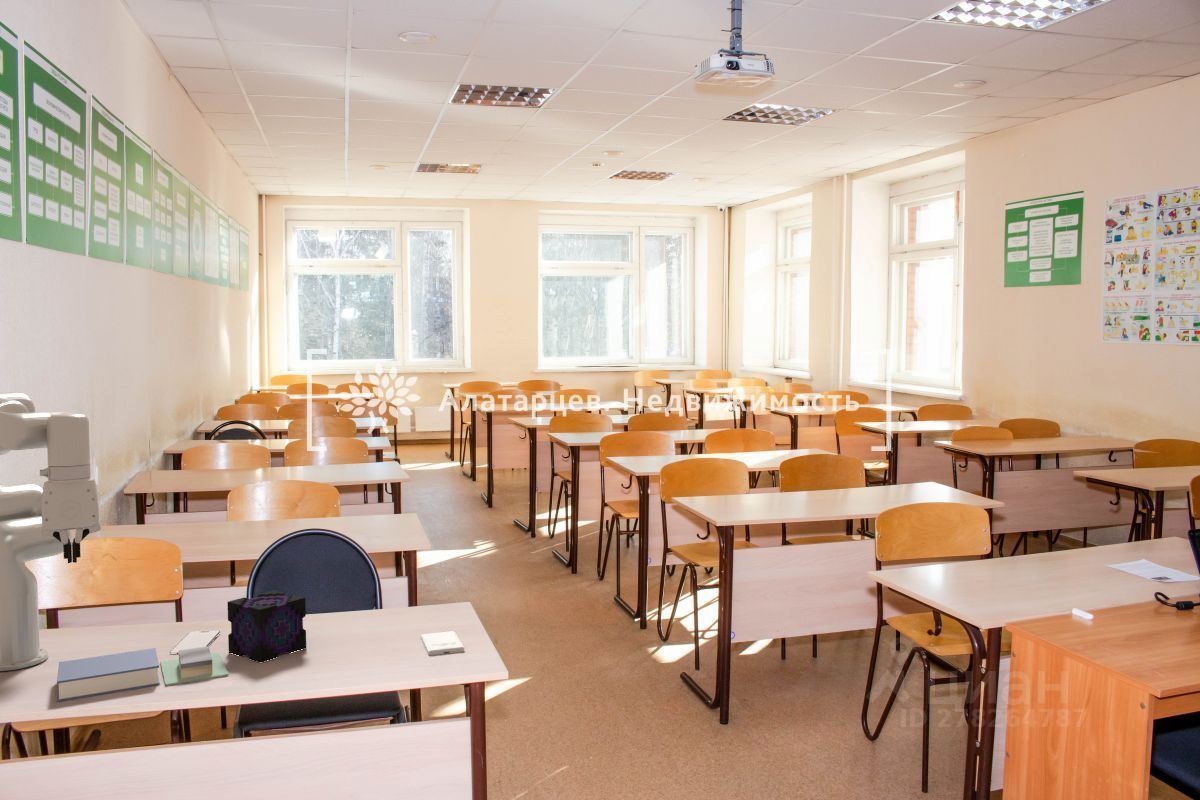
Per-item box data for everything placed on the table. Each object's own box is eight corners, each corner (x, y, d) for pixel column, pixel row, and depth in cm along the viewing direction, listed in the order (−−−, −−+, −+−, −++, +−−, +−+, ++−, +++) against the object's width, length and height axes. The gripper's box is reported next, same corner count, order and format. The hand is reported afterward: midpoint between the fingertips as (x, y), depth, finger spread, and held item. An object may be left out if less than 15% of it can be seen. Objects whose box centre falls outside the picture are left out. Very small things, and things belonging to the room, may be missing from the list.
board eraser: (208, 646, 198) (208, 659, 198) (178, 650, 195) (179, 664, 196) (212, 659, 189) (212, 673, 189) (180, 664, 187) (181, 678, 187)
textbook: (59, 681, 187) (58, 662, 186) (155, 666, 195) (155, 648, 195) (57, 701, 175) (56, 681, 175) (159, 684, 184) (159, 665, 184)
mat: (160, 663, 197) (160, 661, 197) (219, 654, 203) (219, 652, 203) (165, 686, 183) (165, 684, 183) (228, 675, 189) (228, 673, 189)
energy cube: (274, 639, 214) (273, 590, 213) (306, 648, 207) (305, 597, 207) (228, 653, 204) (227, 601, 203) (260, 663, 197) (259, 609, 197)
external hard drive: (455, 637, 216) (464, 653, 205) (420, 641, 214) (428, 657, 202) (454, 630, 216) (464, 646, 204) (420, 634, 213) (428, 650, 202)
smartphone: (168, 653, 203) (189, 631, 218) (168, 658, 203) (190, 635, 218) (201, 651, 204) (221, 630, 219) (202, 656, 204) (221, 634, 219)
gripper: (25, 478, 178) (28, 569, 179) (111, 473, 185) (113, 561, 186) (27, 474, 184) (30, 562, 185) (110, 469, 192) (112, 554, 193)
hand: (72, 561), depth 186 cm, fingers closed
